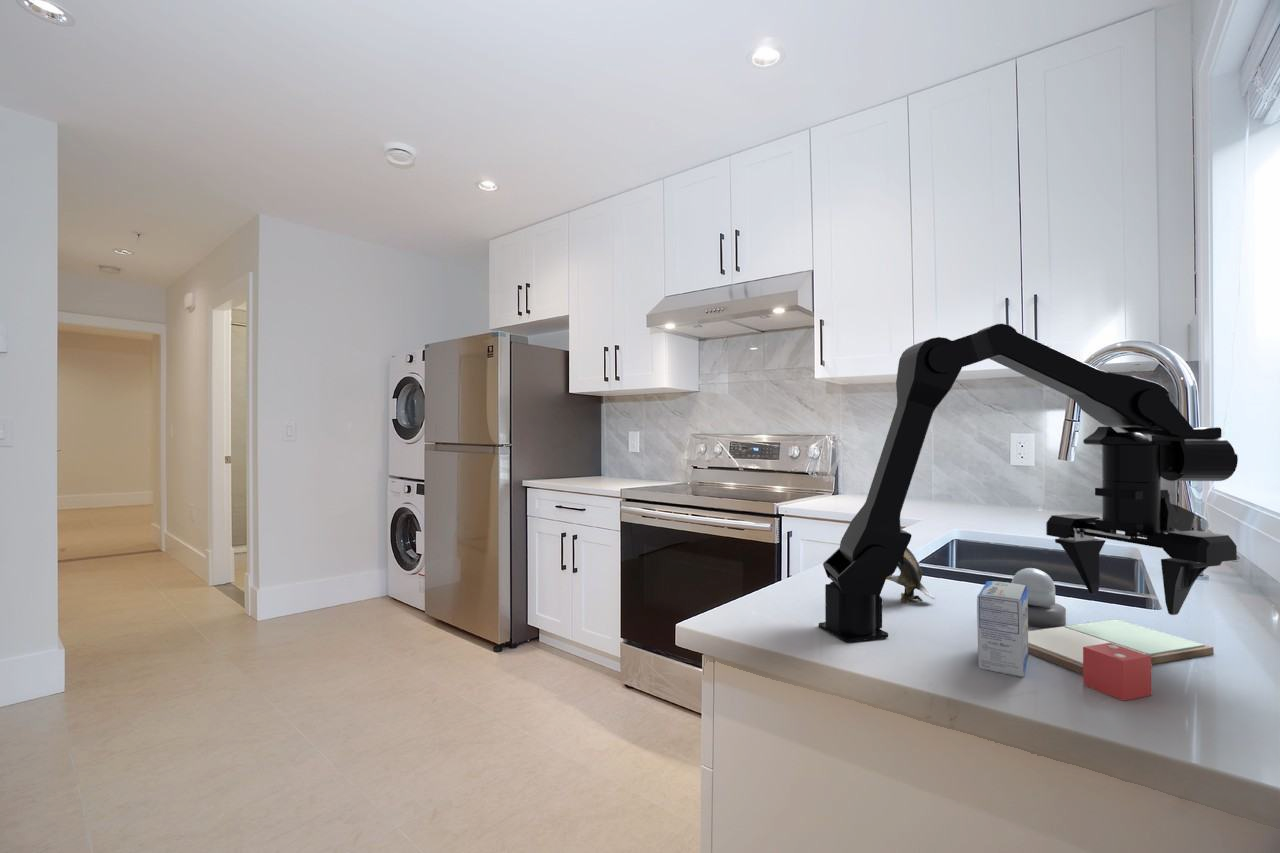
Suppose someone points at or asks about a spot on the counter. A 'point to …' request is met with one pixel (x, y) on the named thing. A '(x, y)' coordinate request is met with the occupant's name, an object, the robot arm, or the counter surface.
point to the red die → (1117, 671)
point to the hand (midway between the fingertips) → (1131, 603)
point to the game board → (1070, 640)
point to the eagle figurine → (910, 578)
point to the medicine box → (1003, 628)
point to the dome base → (1047, 616)
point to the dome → (1036, 586)
